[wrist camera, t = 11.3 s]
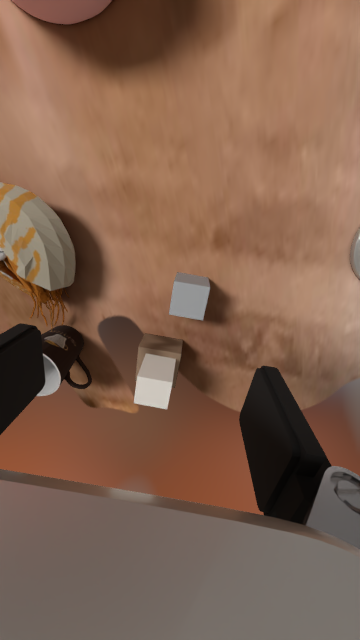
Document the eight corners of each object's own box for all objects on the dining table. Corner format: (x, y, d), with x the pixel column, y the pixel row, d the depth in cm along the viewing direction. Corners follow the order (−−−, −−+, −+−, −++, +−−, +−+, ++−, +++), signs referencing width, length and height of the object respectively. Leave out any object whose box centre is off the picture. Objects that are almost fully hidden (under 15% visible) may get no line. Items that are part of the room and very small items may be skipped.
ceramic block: (175, 359, 37) (172, 382, 32) (170, 383, 39) (167, 409, 34) (145, 353, 37) (137, 376, 32) (142, 377, 39) (133, 403, 34)
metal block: (182, 339, 41) (181, 354, 37) (176, 370, 44) (174, 387, 40) (145, 332, 41) (138, 346, 37) (141, 364, 44) (135, 380, 40)
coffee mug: (34, 333, 43) (-10, 364, 33) (67, 311, 40) (29, 337, 31) (76, 377, 46) (47, 416, 37) (108, 359, 44) (86, 395, 35)
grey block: (208, 277, 36) (210, 287, 31) (201, 306, 38) (202, 320, 33) (177, 272, 36) (174, 280, 31) (172, 301, 38) (168, 314, 33)
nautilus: (98, 322, 41) (22, 315, 43) (79, 186, 32) (-19, 183, 33) (76, 346, 34) (-15, 337, 36) (41, 181, 25) (-81, 177, 26)
